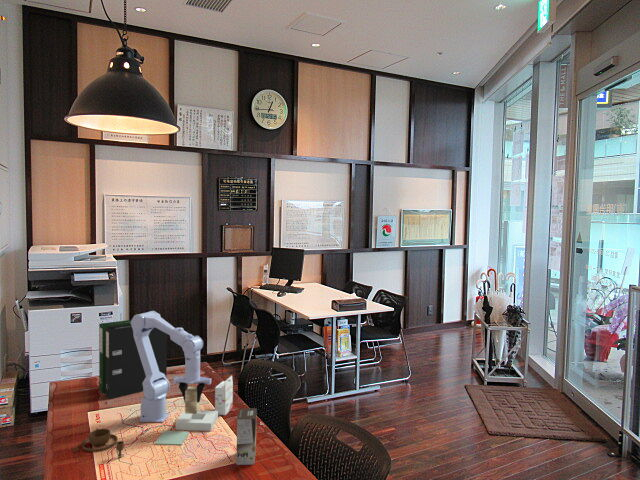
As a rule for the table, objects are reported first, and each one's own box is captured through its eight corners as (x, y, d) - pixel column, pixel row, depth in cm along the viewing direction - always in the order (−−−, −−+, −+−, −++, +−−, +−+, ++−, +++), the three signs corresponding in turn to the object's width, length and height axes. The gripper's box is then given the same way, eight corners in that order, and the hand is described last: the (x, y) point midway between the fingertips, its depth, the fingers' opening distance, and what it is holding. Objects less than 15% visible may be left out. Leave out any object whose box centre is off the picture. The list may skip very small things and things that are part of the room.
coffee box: (254, 464, 162) (255, 419, 161) (235, 465, 161) (236, 419, 161) (256, 451, 171) (257, 407, 170) (238, 451, 171) (239, 408, 170)
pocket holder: (175, 429, 186) (175, 422, 186) (184, 416, 198) (184, 409, 198) (211, 430, 186) (211, 423, 186) (217, 417, 198) (218, 410, 198)
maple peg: (184, 413, 187) (185, 391, 186) (188, 408, 191) (188, 386, 191) (196, 413, 187) (196, 391, 186) (199, 409, 191) (199, 387, 191)
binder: (155, 378, 243) (155, 316, 241) (167, 386, 232) (168, 321, 230) (99, 390, 225) (99, 323, 223) (109, 400, 214) (109, 329, 212)
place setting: (126, 434, 183) (126, 419, 182) (126, 460, 164) (126, 443, 164) (75, 441, 176) (75, 426, 176) (69, 469, 158) (69, 452, 157)
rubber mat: (154, 444, 174) (154, 443, 174) (163, 431, 184) (163, 430, 184) (181, 445, 174) (181, 444, 174) (189, 432, 184) (189, 431, 184)
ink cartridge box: (222, 406, 210) (222, 373, 209) (232, 407, 209) (233, 374, 208) (214, 414, 202) (214, 380, 201) (225, 415, 201) (225, 381, 200)
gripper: (171, 370, 184) (170, 404, 185) (208, 371, 184) (208, 405, 185) (176, 364, 191) (176, 397, 192) (212, 365, 191) (212, 398, 192)
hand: (192, 401), depth 189 cm, fingers closed on maple peg, 4 cm apart
